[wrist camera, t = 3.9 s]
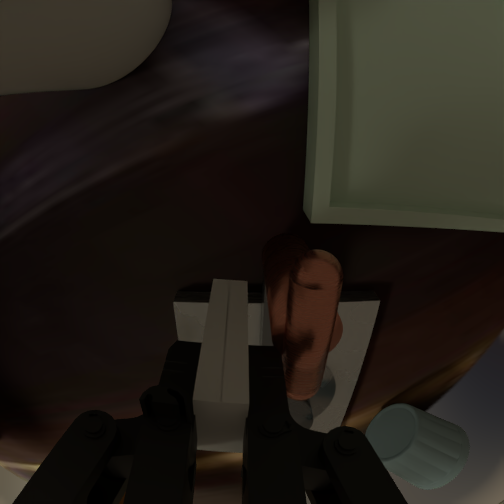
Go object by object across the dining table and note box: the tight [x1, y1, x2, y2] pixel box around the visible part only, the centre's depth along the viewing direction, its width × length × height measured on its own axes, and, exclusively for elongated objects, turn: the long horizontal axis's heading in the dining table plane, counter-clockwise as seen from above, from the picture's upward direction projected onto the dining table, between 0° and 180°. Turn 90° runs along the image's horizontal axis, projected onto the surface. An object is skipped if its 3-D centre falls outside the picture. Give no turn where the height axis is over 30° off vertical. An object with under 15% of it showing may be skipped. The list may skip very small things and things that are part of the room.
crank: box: [260, 233, 343, 429], centre depth 15 cm, size 16×5×7 cm, turn 179°
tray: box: [303, 0, 504, 232], centre depth 12 cm, size 17×17×2 cm
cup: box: [365, 403, 470, 490], centre depth 21 cm, size 8×8×10 cm
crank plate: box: [173, 291, 380, 433], centre depth 21 cm, size 12×16×1 cm
